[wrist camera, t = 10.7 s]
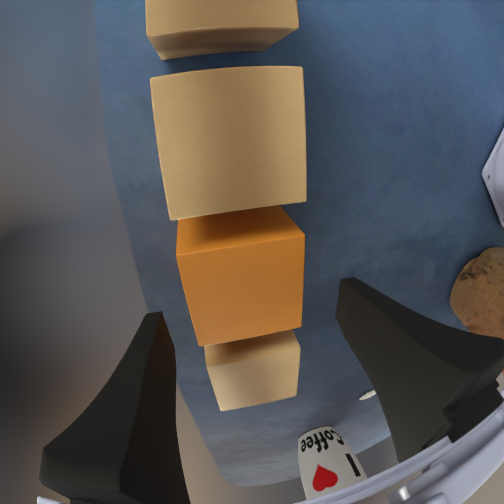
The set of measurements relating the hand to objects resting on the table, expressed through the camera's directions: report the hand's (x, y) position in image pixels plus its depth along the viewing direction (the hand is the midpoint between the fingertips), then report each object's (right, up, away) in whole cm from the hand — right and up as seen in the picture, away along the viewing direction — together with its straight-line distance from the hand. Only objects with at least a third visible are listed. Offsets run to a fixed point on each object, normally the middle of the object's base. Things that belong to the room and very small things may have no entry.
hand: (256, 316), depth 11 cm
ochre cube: (-1, +3, +5) cm, 6 cm away
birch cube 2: (-2, +8, +2) cm, 9 cm away
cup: (+9, -23, +22) cm, 33 cm away
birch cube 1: (-1, -3, +8) cm, 9 cm away
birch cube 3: (-2, +14, -1) cm, 14 cm away
